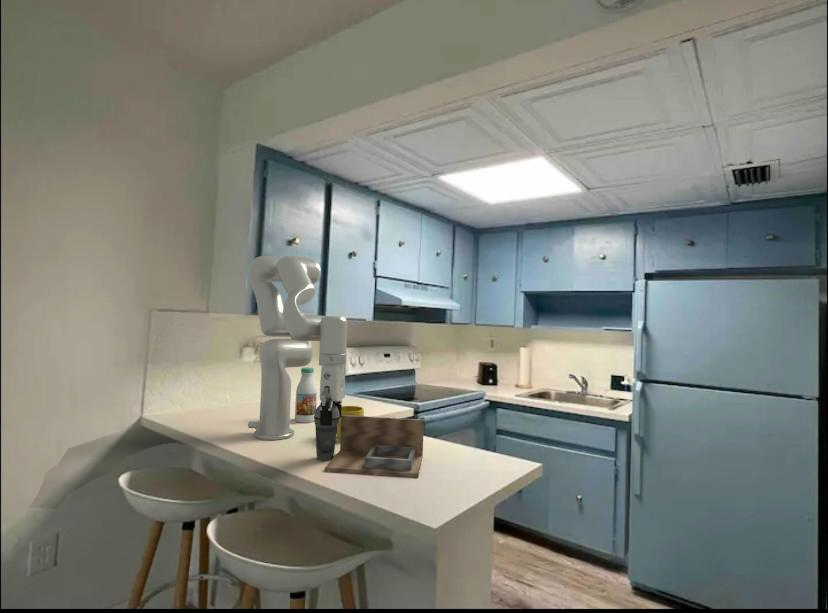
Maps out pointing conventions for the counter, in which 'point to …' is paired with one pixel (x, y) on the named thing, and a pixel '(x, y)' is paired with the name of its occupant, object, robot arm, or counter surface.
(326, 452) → the beverage cup
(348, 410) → the plant pot
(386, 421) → the cup bracket
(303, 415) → the milk bottle
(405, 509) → the counter surface
